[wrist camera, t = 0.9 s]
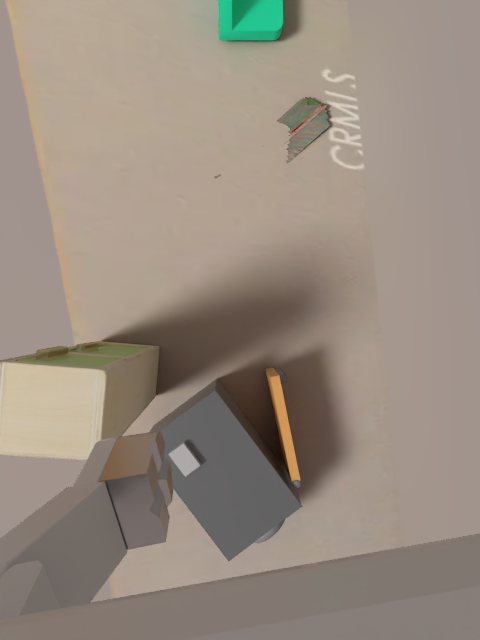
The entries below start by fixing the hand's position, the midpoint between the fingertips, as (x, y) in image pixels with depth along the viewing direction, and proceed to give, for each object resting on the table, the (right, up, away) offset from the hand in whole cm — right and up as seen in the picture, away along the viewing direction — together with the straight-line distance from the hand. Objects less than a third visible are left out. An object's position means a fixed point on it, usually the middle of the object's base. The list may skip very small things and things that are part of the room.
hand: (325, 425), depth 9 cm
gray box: (-4, -14, +38) cm, 41 cm away
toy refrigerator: (-16, -3, +38) cm, 41 cm away
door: (+3, -10, +38) cm, 39 cm away
